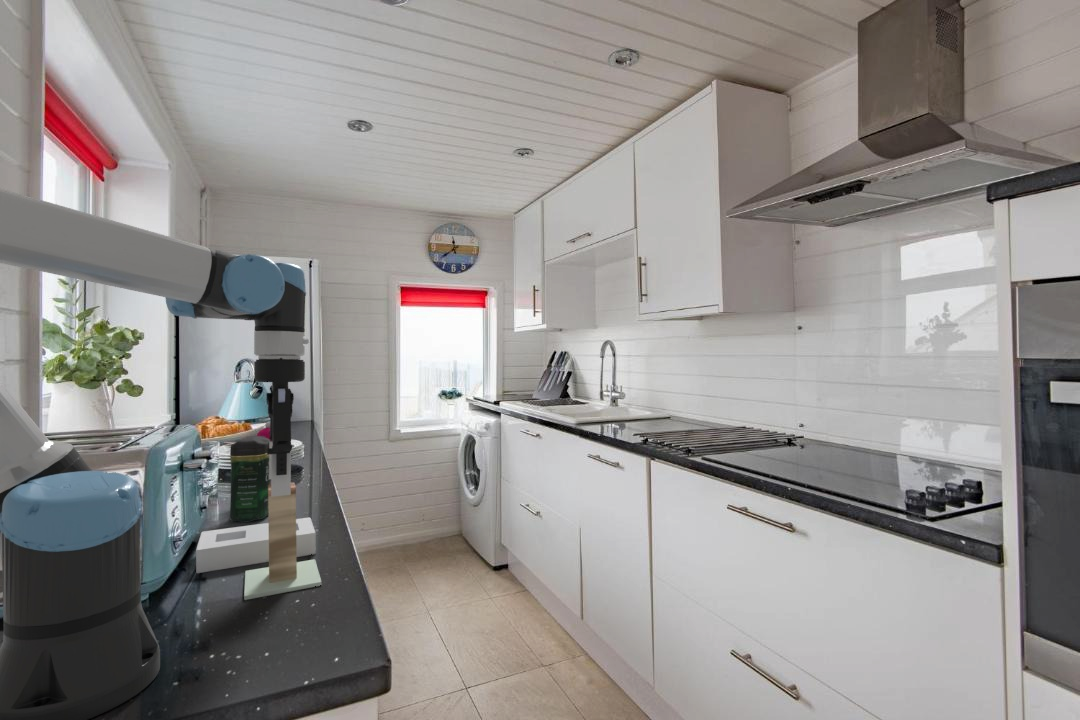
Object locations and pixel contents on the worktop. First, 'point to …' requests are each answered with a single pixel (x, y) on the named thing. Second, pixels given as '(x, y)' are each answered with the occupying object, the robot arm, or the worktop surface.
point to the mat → (261, 586)
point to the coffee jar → (249, 479)
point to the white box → (247, 545)
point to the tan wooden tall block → (282, 536)
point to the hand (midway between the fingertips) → (279, 486)
